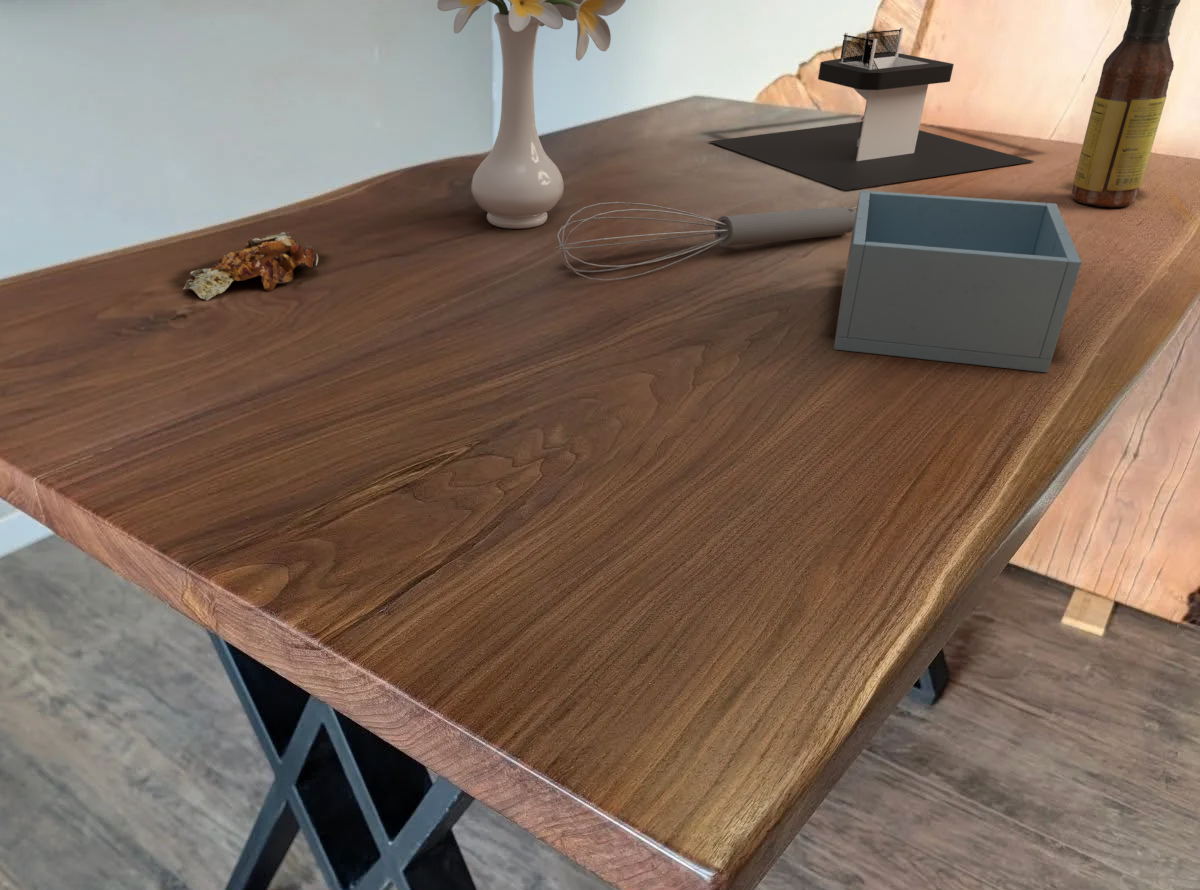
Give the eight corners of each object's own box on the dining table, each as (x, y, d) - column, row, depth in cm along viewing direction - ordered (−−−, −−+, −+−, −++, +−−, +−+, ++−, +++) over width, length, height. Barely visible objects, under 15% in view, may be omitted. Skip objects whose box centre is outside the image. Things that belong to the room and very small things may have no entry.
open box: (1028, 302, 85) (1056, 203, 81) (1047, 373, 74) (1081, 262, 70) (842, 285, 89) (860, 189, 85) (833, 349, 78) (853, 243, 74)
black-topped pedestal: (879, 120, 143) (899, 12, 136) (1034, 162, 123) (1068, 38, 116) (707, 142, 134) (719, 27, 127) (845, 191, 114) (868, 58, 107)
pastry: (171, 289, 91) (164, 248, 89) (281, 255, 98) (277, 217, 96) (218, 308, 87) (212, 265, 85) (329, 271, 94) (325, 232, 92)
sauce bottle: (1137, 198, 110) (1207, -15, 99) (1131, 213, 106) (1203, -8, 95) (1069, 190, 113) (1129, -17, 102) (1061, 204, 109) (1122, -11, 98)
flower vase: (581, 251, 98) (593, -54, 84) (414, 225, 106) (400, -59, 92) (632, 215, 108) (651, -65, 94) (476, 194, 115) (472, -68, 101)
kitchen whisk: (885, 238, 100) (898, 170, 96) (576, 298, 88) (578, 223, 85) (841, 222, 104) (852, 156, 101) (542, 277, 93) (543, 205, 89)
